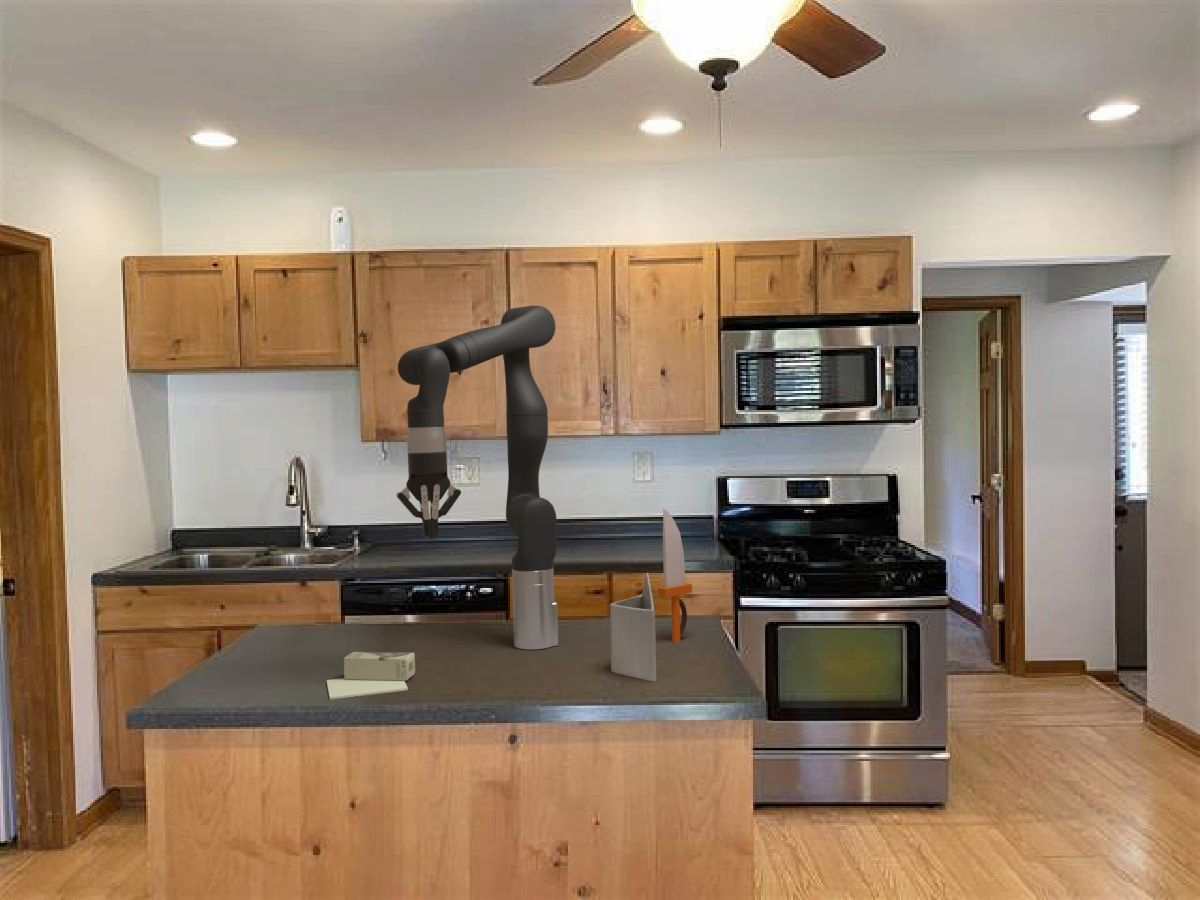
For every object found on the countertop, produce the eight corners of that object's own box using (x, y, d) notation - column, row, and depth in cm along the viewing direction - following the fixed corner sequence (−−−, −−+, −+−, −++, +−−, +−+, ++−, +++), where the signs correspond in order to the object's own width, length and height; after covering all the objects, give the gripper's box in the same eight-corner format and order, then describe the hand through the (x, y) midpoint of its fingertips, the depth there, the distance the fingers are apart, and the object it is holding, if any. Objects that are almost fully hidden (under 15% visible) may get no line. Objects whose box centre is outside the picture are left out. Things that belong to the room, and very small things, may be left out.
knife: (666, 645, 196) (663, 509, 195) (658, 643, 198) (655, 508, 197) (693, 639, 201) (690, 506, 200) (685, 637, 203) (682, 505, 202)
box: (407, 658, 171) (342, 657, 173) (407, 681, 172) (343, 680, 173) (415, 651, 177) (353, 650, 178) (416, 673, 177) (353, 672, 178)
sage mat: (399, 673, 178) (399, 671, 178) (407, 690, 167) (407, 688, 167) (326, 682, 174) (326, 680, 174) (329, 699, 162) (329, 697, 162)
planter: (607, 660, 185) (605, 567, 184) (645, 659, 185) (643, 566, 185) (614, 683, 168) (612, 581, 168) (656, 681, 169) (654, 580, 168)
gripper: (456, 448, 181) (460, 533, 181) (390, 451, 176) (394, 538, 177) (464, 449, 174) (467, 537, 174) (395, 452, 169) (399, 543, 170)
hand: (430, 538), depth 176 cm, fingers closed
